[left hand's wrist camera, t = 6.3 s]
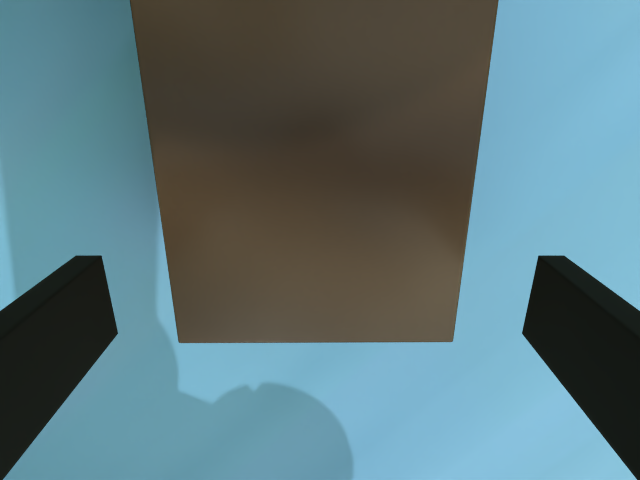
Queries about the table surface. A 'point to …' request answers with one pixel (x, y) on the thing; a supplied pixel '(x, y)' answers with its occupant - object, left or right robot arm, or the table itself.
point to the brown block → (314, 162)
